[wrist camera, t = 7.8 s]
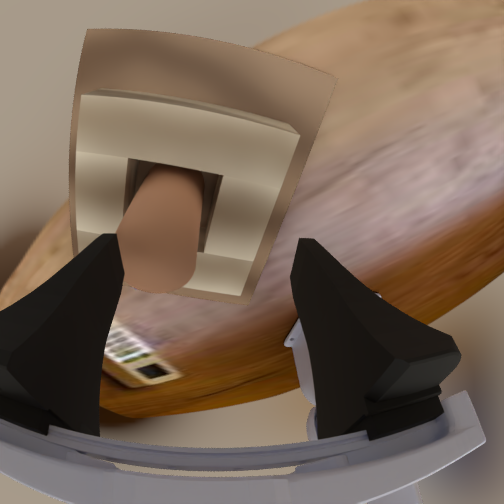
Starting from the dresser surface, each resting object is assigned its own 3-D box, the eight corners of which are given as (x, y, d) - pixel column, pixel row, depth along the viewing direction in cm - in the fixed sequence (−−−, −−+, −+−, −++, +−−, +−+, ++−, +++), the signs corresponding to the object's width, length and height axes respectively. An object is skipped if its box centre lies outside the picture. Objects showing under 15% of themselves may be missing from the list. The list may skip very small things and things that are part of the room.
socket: (247, 297, 27) (251, 331, 24) (79, 268, 23) (65, 299, 20) (332, 77, 16) (358, 82, 13) (93, 29, 12) (64, 26, 9)
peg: (197, 216, 20) (187, 300, 14) (142, 204, 19) (108, 283, 13) (211, 164, 18) (205, 233, 12) (151, 151, 17) (110, 212, 11)
